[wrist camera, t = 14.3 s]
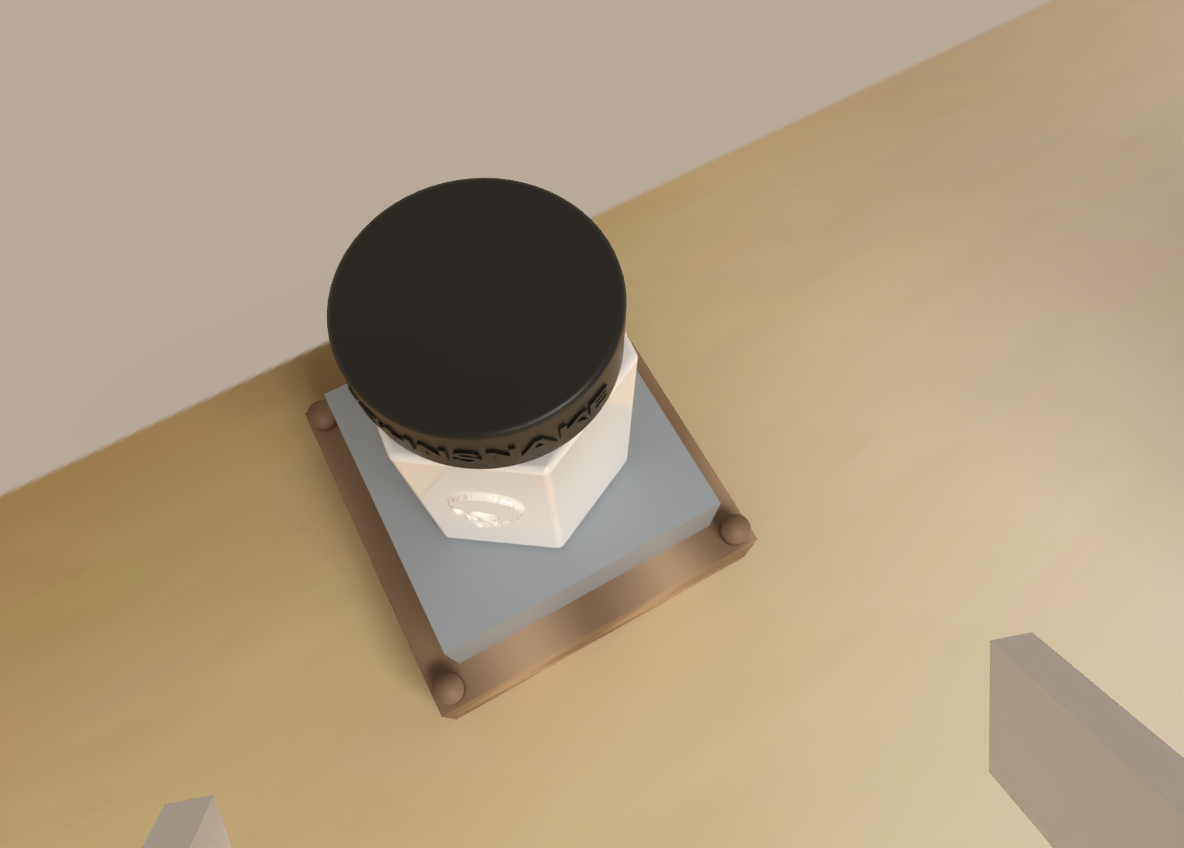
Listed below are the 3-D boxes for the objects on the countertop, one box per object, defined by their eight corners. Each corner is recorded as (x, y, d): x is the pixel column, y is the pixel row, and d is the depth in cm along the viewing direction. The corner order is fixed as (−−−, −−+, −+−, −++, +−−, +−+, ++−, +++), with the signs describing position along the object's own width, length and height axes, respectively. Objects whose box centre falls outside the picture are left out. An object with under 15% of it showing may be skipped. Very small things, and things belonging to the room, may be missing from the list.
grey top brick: (578, 313, 39) (576, 274, 36) (709, 525, 35) (720, 503, 32) (347, 425, 37) (323, 394, 34) (459, 663, 33) (444, 654, 30)
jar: (389, 538, 32) (274, 424, 20) (425, 351, 35) (344, 163, 23) (618, 560, 31) (630, 456, 20) (635, 370, 34) (653, 187, 23)
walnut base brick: (590, 312, 43) (590, 268, 39) (743, 556, 38) (760, 534, 34) (328, 440, 41) (298, 406, 37) (456, 719, 36) (438, 715, 32)
